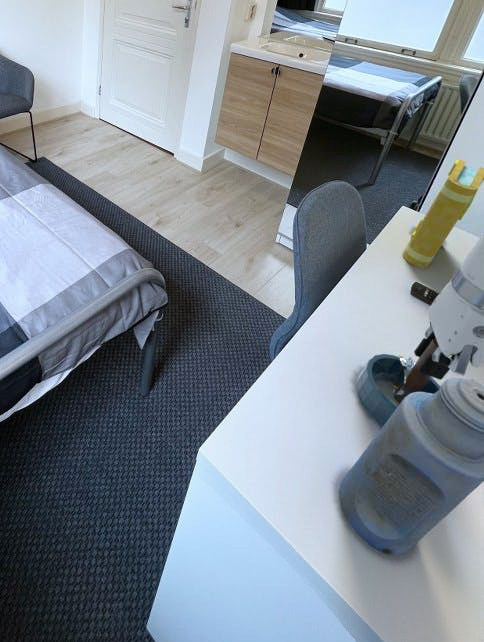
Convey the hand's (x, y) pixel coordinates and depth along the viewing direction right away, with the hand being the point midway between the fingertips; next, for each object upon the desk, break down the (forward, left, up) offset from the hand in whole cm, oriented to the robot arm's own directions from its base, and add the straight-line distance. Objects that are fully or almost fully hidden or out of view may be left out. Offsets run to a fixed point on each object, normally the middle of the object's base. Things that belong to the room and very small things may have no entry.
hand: (427, 365), depth 72 cm
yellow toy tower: (-14, -53, -11) cm, 56 cm away
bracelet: (+1, -2, -11) cm, 11 cm away
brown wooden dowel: (0, 0, -10) cm, 10 cm away
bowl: (+1, +1, -11) cm, 11 cm away
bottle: (+7, +21, -11) cm, 25 cm away
